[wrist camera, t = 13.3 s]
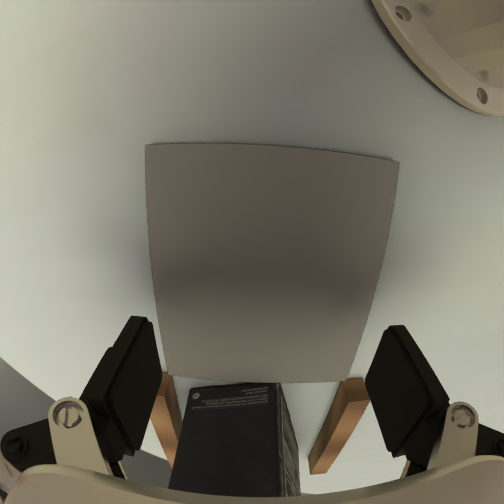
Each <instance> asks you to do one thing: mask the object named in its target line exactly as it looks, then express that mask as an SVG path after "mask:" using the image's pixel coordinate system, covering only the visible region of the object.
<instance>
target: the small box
mask: <svg viewBox="0 0 504 504" xmlns="http://www.w3.org/2000/svg"><path fill="white" fill-rule="evenodd" d="M168 489H172V490H178V491H184V492H191V493H198V494H207V495H217V496H231V497H294V496H301V494H300V478H299V458H298V446H297V442H296V438H295V435H294V431H293V427H292V424H291V419H290V415H289V411H288V409H287V404H286V401H285V398H284V395H283V392H282V388H281V384H280V383H252V384H245V385H236V386H225V387H211V388H201V389H192V390H190V391H189V396H188V401H187V405H186V409H185V414H184V418H183V423H182V427H181V432H180V436H179V441H178V445H177V449H176V454H175V459H174V463H173V468H172V473H171V477H170V482H169V486H168Z"/></svg>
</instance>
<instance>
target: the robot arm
mask: <svg viewBox="0 0 504 504" xmlns="http://www.w3.org/2000/svg"><path fill="white" fill-rule="evenodd" d="M371 1H372V3H373V5H374V6H375V8H376V10H377V12H378V14H379V16H380V18H381V19H382V21H383V22H384V24H385V25H386V27H387V28H388V30H389V31H390V33H391V35H392V36H393V38H394V39H395V40H396V41H397V43H398V44H399V45H400V46H401V48H402V49H403V50H404V52H405V53H406V54H407V55H408V57H409V58H410V59H411V60H412V61H413V62H414V63H415V64H416V65H417V67H418V68H419V69H420V70H421V71H422V72H423V73H424V74H425V75H426V77H428V78H429V79H430V80H431V81H432V82H433V83H434V84H435V85H437V86H438V87H439V88H440V89H441V90H442V91H443V92H444V93H446V94H447V95H448V96H450V97H451V98H453V99H454V100H455V101H457V102H458V103H459V104H461V105H463V106H465V107H467V108H469V109H471V110H473V111H475V112H477V113H481V114H485V115H489V116H504V0H371ZM161 382H162V369H161V365H160V360H159V355H158V350H157V345H156V340H155V335H154V329H153V324H152V322H148V319H147V318H146V317H140V316H131V317H130V318H129V320H128V322H127V323H126V325H125V327H124V328H123V330H122V332H121V333H120V335H119V337H118V338H117V340H116V342H115V343H114V345H113V347H110V348H108V349H107V351H106V352H105V354H104V356H103V357H102V359H101V361H100V362H99V364H98V366H97V368H96V369H95V371H94V373H93V375H92V376H91V378H90V380H89V382H88V384H87V385H86V387H85V389H84V391H83V393H82V395H81V396H80V398H79V399H77V398H73V397H65V398H62V399H59V400H58V401H56V402H55V403H54V404H53V405H52V406H51V408H50V410H49V413H48V418H47V419H44V420H41V421H38V422H35V423H32V424H29V425H26V426H23V427H20V428H17V429H13V430H11V431H9V432H7V433H6V434H5V435H4V436H3V438H2V440H1V443H0V504H504V433H501V432H499V431H496V430H494V429H491V428H489V427H486V426H484V425H482V424H479V423H478V422H479V420H478V414H477V412H476V410H475V409H474V408H473V407H472V406H471V405H470V404H468V403H465V402H460V401H459V402H454V403H453V404H451V405H450V404H449V402H448V401H449V400H450V399H449V397H448V395H447V393H446V392H445V390H444V388H443V386H442V385H441V383H440V381H439V380H438V378H437V376H436V375H435V373H434V371H433V370H432V368H431V366H430V365H429V363H428V361H427V360H426V358H425V357H424V355H423V353H422V352H421V350H420V349H419V347H418V345H417V344H416V342H415V341H414V339H413V338H412V336H411V335H410V333H409V332H408V330H407V329H406V327H405V326H404V325H393V326H389V327H388V329H387V330H385V331H384V332H383V335H382V338H381V341H380V343H379V346H378V348H377V351H376V354H375V356H374V359H373V361H372V364H371V366H370V368H369V371H368V373H367V375H366V378H365V386H366V389H367V392H368V395H369V398H370V400H371V403H372V406H373V409H374V412H375V415H376V418H377V420H378V423H379V426H380V429H381V432H382V435H383V438H384V442H385V445H386V448H387V450H388V451H389V452H391V453H392V456H393V458H395V457H399V456H403V455H406V458H407V461H406V464H405V467H404V469H403V472H402V475H401V477H400V479H397V480H393V481H390V482H386V483H381V484H377V485H373V486H368V487H363V488H358V489H353V490H347V491H340V492H334V493H326V494H318V495H307V496H294V497H231V496H217V495H207V494H198V493H191V492H184V491H178V490H172V489H166V488H160V487H156V486H151V485H146V484H142V483H138V482H133V481H129V480H128V479H127V477H126V474H125V472H124V470H123V468H122V465H121V463H120V460H122V458H123V455H124V454H125V455H129V456H134V453H135V450H140V448H141V445H142V441H143V438H144V435H145V432H146V428H147V425H148V422H149V419H150V415H151V412H152V409H153V406H154V403H155V400H156V397H157V394H158V391H159V388H160V385H161Z"/></svg>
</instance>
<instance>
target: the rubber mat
mask: <svg viewBox="0 0 504 504" xmlns="http://www.w3.org/2000/svg"><path fill="white" fill-rule="evenodd" d="M398 171H399V162H396V161H391V160H386V159H380V158H374V157H368V156H362V155H355V154H348V153H341V152H333V151H325V150H316V149H307V148H296V147H284V146H270V145H252V144H221V143H186V144H155V145H145V173H146V203H147V221H148V235H149V248H150V258H151V268H152V277H153V286H154V293H155V301H156V308H157V315H158V321H159V328H160V334H161V340H162V345H163V351H164V356H165V361H166V366H167V371H168V375H172V376H180V377H189V378H198V379H209V380H221V381H236V382H258V383H314V382H336V381H346V379H347V377H348V374H349V371H350V369H351V366H352V363H353V361H354V358H355V355H356V352H357V349H358V346H359V343H360V340H361V337H362V334H363V331H364V328H365V325H366V321H367V318H368V315H369V311H370V308H371V305H372V301H373V297H374V294H375V290H376V286H377V282H378V278H379V274H380V270H381V266H382V262H383V258H384V253H385V248H386V244H387V239H388V234H389V229H390V223H391V218H392V212H393V206H394V200H395V193H396V186H397V179H398Z"/></svg>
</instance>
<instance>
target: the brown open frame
mask: <svg viewBox="0 0 504 504" xmlns="http://www.w3.org/2000/svg"><path fill="white" fill-rule="evenodd" d="M369 402H370V398H369V395H368V392H367V389H366V386H365V383H364V380H363V378H355V379H346V381H341V383H340V386H339V389H338V391H337V394H336V396H335V399H334V401H333V404H332V406H331V409H330V411H329V413H328V416H327V418H326V420H325V423H324V425H323V427H322V429H321V432H320V434H319V436H318V438H317V440H316V442H315V444H314V447H313V449H312V451H311V453H310V455H309V457H308V462H309V470H310V475H312V474H323V473H326V472H327V471H328V469H329V468H330V467H331V465H332V464H333V462H334V461H335V459H336V458H337V456H338V455H339V453H340V452H341V450H342V448H343V447H344V445H345V444H346V442H347V440H348V439H349V437H350V435H351V434H352V432H353V430H354V429H355V427H356V425H357V424H358V422H359V420H360V418H361V417H362V415H363V413H364V411H365V409H366V407H367V406H368V404H369ZM150 419H151V421H152V424H153V426H154V429H155V431H156V434H157V436H158V439H159V441H160V443H161V446H162V448H163V450H164V453H165V455H166V457H167V459H168V461H169V464H170V466H171V468H173V463H174V459H175V454H176V449H177V445H178V441H179V436H180V432H181V427H182V419H181V415H180V411H179V407H178V402H177V398H176V393H175V389H174V384H173V379H172V375H168V373H163V372H162V382H161V385H160V388H159V391H158V394H157V397H156V400H155V403H154V406H153V409H152V412H151V415H150Z"/></svg>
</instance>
